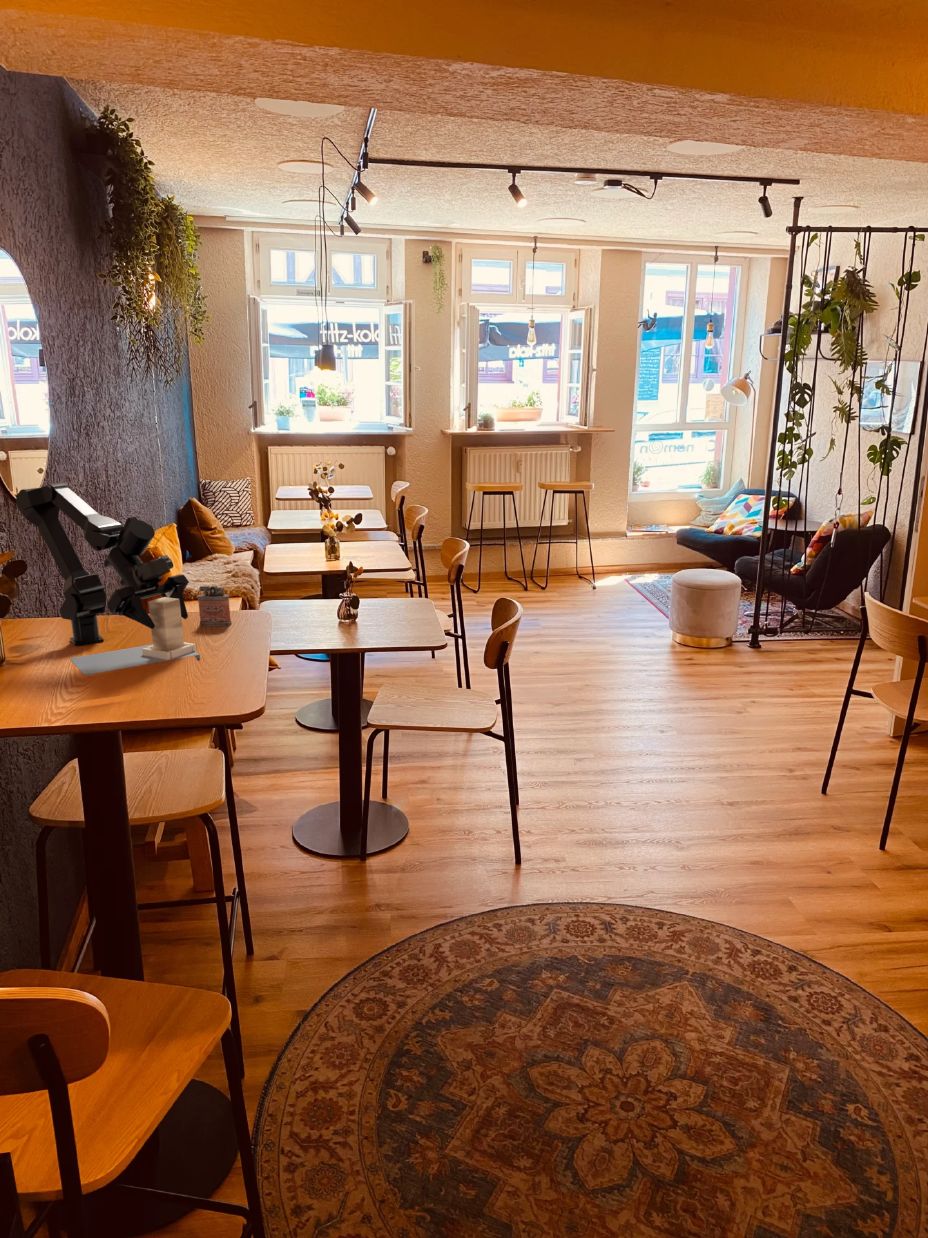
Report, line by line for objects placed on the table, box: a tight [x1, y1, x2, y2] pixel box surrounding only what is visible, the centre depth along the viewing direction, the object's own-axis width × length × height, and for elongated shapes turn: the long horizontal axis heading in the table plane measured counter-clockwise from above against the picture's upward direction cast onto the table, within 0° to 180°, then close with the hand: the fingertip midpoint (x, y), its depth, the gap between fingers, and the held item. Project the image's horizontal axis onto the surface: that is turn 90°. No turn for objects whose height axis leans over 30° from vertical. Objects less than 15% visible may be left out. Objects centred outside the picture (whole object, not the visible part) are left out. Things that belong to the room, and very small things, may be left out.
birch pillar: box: [147, 597, 185, 652], centre depth 199 cm, size 5×5×12 cm
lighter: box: [196, 584, 232, 627], centre depth 226 cm, size 8×3×10 cm, turn 84°
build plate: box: [69, 643, 201, 676], centre depth 198 cm, size 15×24×1 cm, turn 124°
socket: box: [142, 641, 197, 661], centre depth 200 cm, size 8×8×2 cm
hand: (170, 622), depth 198 cm, fingers open, 9 cm apart
